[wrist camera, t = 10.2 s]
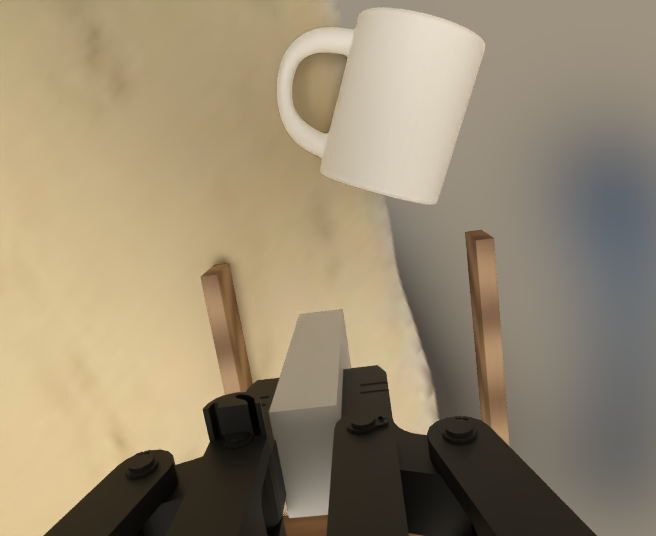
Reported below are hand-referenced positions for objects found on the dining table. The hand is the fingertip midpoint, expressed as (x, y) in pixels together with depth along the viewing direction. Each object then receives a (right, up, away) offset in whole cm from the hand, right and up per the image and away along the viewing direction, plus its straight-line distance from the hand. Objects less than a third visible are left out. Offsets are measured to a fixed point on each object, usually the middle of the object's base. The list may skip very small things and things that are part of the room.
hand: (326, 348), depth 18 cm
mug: (+3, +14, +19) cm, 24 cm away
